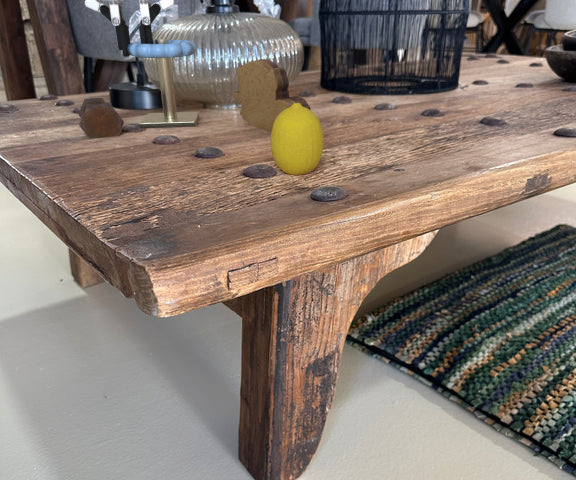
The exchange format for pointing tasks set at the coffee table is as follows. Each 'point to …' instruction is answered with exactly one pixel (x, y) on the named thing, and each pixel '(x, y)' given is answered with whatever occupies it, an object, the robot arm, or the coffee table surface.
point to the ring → (162, 49)
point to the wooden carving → (264, 93)
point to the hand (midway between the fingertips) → (137, 54)
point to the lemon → (297, 140)
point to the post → (168, 100)
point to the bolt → (99, 119)
